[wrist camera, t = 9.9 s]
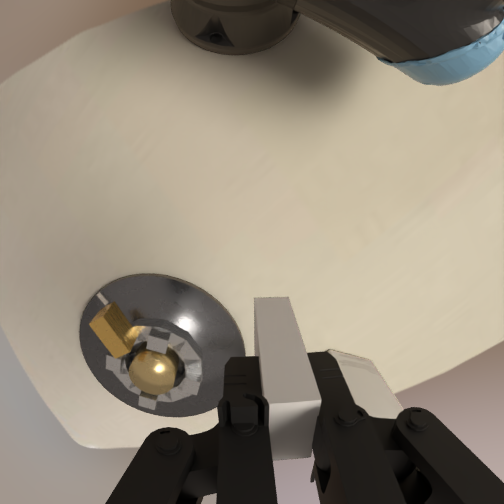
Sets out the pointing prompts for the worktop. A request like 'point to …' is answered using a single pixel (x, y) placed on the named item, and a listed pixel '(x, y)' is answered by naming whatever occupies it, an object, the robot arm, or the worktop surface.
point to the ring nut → (158, 339)
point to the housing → (170, 364)
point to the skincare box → (367, 386)
